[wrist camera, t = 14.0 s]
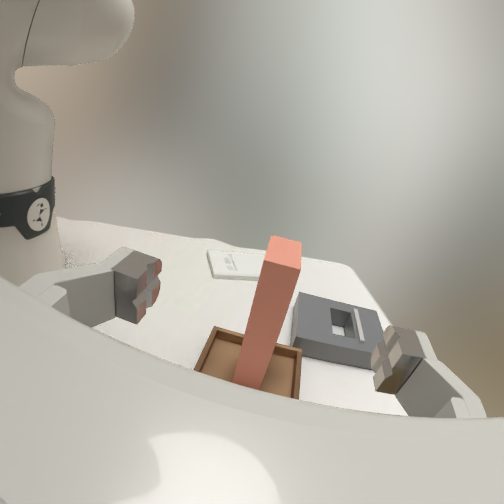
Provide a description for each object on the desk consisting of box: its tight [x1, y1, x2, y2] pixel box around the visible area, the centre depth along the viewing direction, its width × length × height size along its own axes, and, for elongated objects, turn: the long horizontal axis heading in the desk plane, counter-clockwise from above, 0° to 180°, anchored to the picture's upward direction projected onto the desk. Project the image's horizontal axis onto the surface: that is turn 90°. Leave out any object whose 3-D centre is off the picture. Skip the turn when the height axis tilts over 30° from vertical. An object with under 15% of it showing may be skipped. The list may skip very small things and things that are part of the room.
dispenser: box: [290, 292, 383, 369], centre depth 36 cm, size 12×10×3 cm
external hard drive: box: [207, 250, 265, 281], centre depth 50 cm, size 2×8×12 cm
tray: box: [194, 326, 302, 400], centre depth 27 cm, size 10×10×2 cm
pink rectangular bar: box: [232, 235, 302, 390], centre depth 24 cm, size 2×5×14 cm, turn 170°
